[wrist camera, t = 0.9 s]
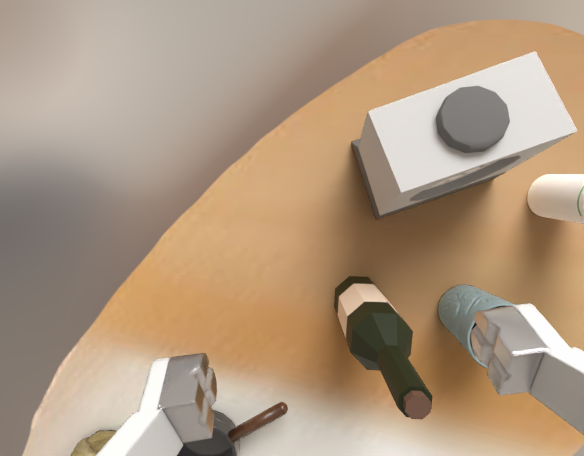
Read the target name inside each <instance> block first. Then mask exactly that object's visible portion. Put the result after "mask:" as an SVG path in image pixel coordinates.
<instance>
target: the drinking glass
mask: <svg viewBox="0 0 584 456" xmlns="http://www.w3.org/2000/svg"><path fill="white" fill-rule="evenodd" d="M514 305H515V304H512V303H510V302H508V301H506V300H503V299H501V298H499V297H497V296H494V295H492V294H489V293H487V292H485V291H483V290H480V289H478V288H476V287H473V286H470V285H457V286H456V287H453V288H451V289H449V290H448V291H447V292H446V293H445V294H444V295H443V296H442V298H441V299H440V301H439V305H438V314H439V317H440V320H441V322H442V323H443V325H444V326H445V327H446V328H447V329H448V330H449V331H450V332H451V333H452V334H453V335H454V336H455V337H456V339H457V340H458V341H459V342H460V344H461V345H462V346H463V347H464V348H465V349H466V350H467V352H468V353H469V354H470V355H471V356H472V357H473V358H474V360H475V361H476V362H478V363H479V364H480V365H482V366H483V367H485V368H488V367H487V366H486V365H484V364H483V363H481V362H480V361H479V360H478V358H477V357H476V355H475V353H474V350H473V348H472V343H471V331H472V329H473V328H474V327H475V326H476V325H477V324H476V323H475V321H474V317H475V313H476V312H477V311H481V310H487V309H493V308H499V307H505V306H514Z"/></svg>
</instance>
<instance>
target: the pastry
mask: <svg viewBox="0 0 584 456" xmlns="http://www.w3.org/2000/svg"><path fill="white" fill-rule="evenodd" d="M116 432H117V431H114V430H108V431H98V432H96V433H95V434H93V435H92V436H91V437H88V438H85V439H83V440H81V441H80V442H79V443H78V444H77V445H76V447H75V449H74V451H73V452H72V454H71V456H96V454H97V453H98V452H99V451H100V450H101V449H102V448H103V447H104V445H105V444H106V443H107V442H108V441H109V440H110V439H111V437H112V436H113V435H114V434H115V433H116Z"/></svg>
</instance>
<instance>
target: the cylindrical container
mask: <svg viewBox="0 0 584 456" xmlns="http://www.w3.org/2000/svg"><path fill="white" fill-rule="evenodd" d="M527 201H528V205H529V207H530V209H531V210H532V212H534V213H535V214H536V215H538V216H541V217H546V218H552V219H557V220H563V221H569V222H575V223H580V224H584V174H549V175H544V176H541V177H539V178H538V179H536V180H535V181H534V182H533V183H532V185H531V186H530V188H529V190H528V194H527Z"/></svg>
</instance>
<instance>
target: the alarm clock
mask: <svg viewBox="0 0 584 456" xmlns="http://www.w3.org/2000/svg"><path fill="white" fill-rule="evenodd" d="M575 132H577V129H576V127H575V125H574V123H573V121H572V119H571V118H570V116H569V114H568V112H567V110H566V108H565V106H564V104H563V102H562V101H561V99H560V97H559V95H558V93H557V91H556V89H555V87H554V85H553V83H552V82H551V80H550V78H549V76H548V74H547V72H546V70H545V68H544V66H543V64H542V63H541V61H540V59H539V57H538V55H537V53H536V51H534V52H532V53H529V54H526V55H523V56H521V57H518V58H515V59H512V60H509V61H507V62H504V63H501V64H498V65H495V66H493V67H490V68H487V69H484V70H482V71H479V72H476V73H473V74H470V75H468V76H465V77H462V78H459V79H456V80H454V81H451V82H448V83H445V84H443V85H440V86H437V87H434V88H431V89H429V90H426V91H423V92H420V93H418V94H415V95H412V96H409V97H406V98H404V99H401V100H398V101H395V102H392V103H390V104H387V105H384V106H381V107H379V108H376V109H373V110H370V111H368V113H367V117H366V120H365V124H364V127H363V131H362V134H361V138H360V139H358V140H355V141H352V142H351V143H352V146H353V149H354V152H355V155H356V158H357V161H358V165H359V168H360V171H361V174H362V177H363V180H364V183H365V186H366V190H367V193H368V196H369V199H370V202H371V205H372V208H373V211H374V215H375V218H376V219H379V218H382V217H385V216H388V215H391V214H394V213H396V212H399V211H402V210H405V209H408V208H411V207H414V206H417V205H419V204H422V203H425V202H428V201H431V200H434V199H437V198H440V197H443V196H445V195H448V194H451V193H454V192H457V191H460V190H463V189H466V188H468V187H471V186H474V185H477V184H480V183H483V182H486V181H489V180H491V179H494V178H496V177H498V176H500V175H502V174H504V173H505V172H507V171H509V170H510V169H512V168H514V167H516V166H517V165H519V164H521V163H523V162H524V161H526V160H528V159H530V158H531V157H533V156H535V155H537V154H538V153H540V152H542V151H544V150H545V149H547V148H549V147H551V146H552V145H554V144H556V143H558V142H559V141H561V140H563V139H565V138H566V137H568V136H570V135H572V134H573V133H575Z"/></svg>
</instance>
